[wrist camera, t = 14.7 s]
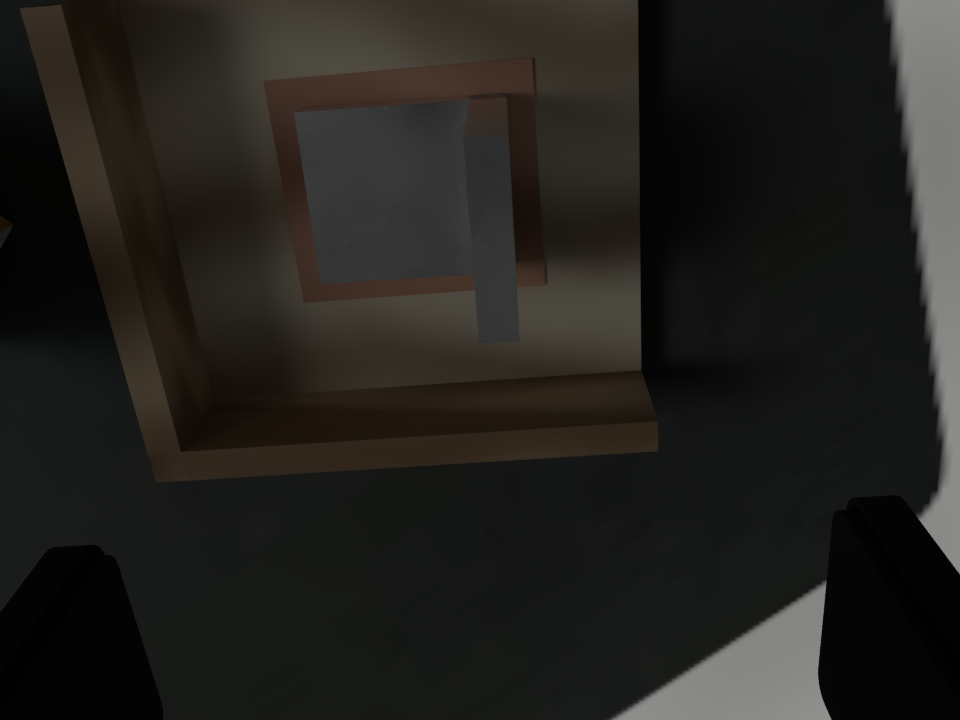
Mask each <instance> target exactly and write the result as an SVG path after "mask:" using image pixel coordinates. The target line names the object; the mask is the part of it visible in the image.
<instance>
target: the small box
mask: <svg viewBox="0 0 960 720" xmlns="http://www.w3.org/2000/svg"><path fill="white" fill-rule="evenodd" d="M12 226H13V225H12V223H11V222H10V221H9V220H7V219H5V218H4V217H2V216H0V249H1V247H2V245H3V243H4V241H5V240H6V238H7V236H8V234H9V232H10V231H11V229H12Z"/></svg>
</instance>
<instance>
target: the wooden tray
mask: <svg viewBox="0 0 960 720" xmlns="http://www.w3.org/2000/svg"><path fill="white" fill-rule="evenodd" d="M20 11H21V14H22V18H23V21H24V24H25V28H26V31H27V35H28V38H29V42H30V45H31V49H32V52H33V56H34V59H35V63H36V66H37V70H38V73H39V77H40V80H41V84H42V87H43V91H44V94H45V98H46V101H47V105H48V108H49V112H50V115H51V119H52V122H53V125H54V129H55V132H56V136H57V139H58V143H59V146H60V150H61V153H62V157H63V160H64V164H65V167H66V171H67V174H68V178H69V181H70V185H71V188H72V192H73V195H74V199H75V202H76V206H77V209H78V213H79V216H80V220H81V223H82V226H83V230H84V233H85V237H86V240H87V244H88V247H89V251H90V254H91V258H92V261H93V265H94V268H95V272H96V275H97V279H98V282H99V286H100V289H101V293H102V296H103V300H104V303H105V307H106V310H107V314H108V317H109V321H110V324H111V327H112V331H113V334H114V338H115V341H116V345H117V348H118V352H119V355H120V359H121V362H122V366H123V369H124V373H125V376H126V380H127V383H128V387H129V390H130V394H131V397H132V401H133V404H134V408H135V411H136V415H137V418H138V421H139V425H140V428H141V432H142V435H143V439H144V442H145V446H146V449H147V453H148V456H149V460H150V463H151V467H152V470H153V474H154V477H155V481H156V483H157V482H173V481H189V480H205V479H221V478H237V477H253V476H269V475H284V474H300V473H316V472H332V471H348V470H364V469H380V468H396V467H412V466H428V465H444V464H460V463H476V462H492V461H508V460H524V459H539V458H555V457H571V456H587V455H603V454H619V453H635V452H651V451H658V419H657V416H656V413H655V410H654V407H653V404H652V401H651V398H650V395H649V392H648V389H647V386H646V383H645V380H644V377H643V374H642V371H641V283H640V169H639V55H638V0H75V1H68V2H61V3H55V4H48V5H41V6H34V7H27V8H20ZM497 93H506V95H507V112H508V130H509V148H510V166H511V184H512V202H513V220H514V238H515V256H516V275H517V294H518V314H519V333H520V342H507V343H489V344H479V338H478V325H477V312H476V299H475V286H474V275H459V276H443V277H426V278H409V279H392V280H376V281H359V282H342V283H326V284H321V283H320V276H319V270H318V263H317V257H316V251H315V244H314V238H313V232H312V225H311V219H310V212H309V206H308V200H307V193H306V187H305V181H304V174H303V168H302V161H301V155H300V149H299V142H298V136H297V130H296V123H295V117H294V112H295V111H296V110H297V109H298V108H300V107H310V106H325V105H339V104H353V103H368V102H382V101H397V100H411V99H425V98H440V97H454V96H468V95H483V94H497Z"/></svg>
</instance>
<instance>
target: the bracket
mask: <svg viewBox="0 0 960 720" xmlns="http://www.w3.org/2000/svg"><path fill="white" fill-rule="evenodd" d="M294 117H295V123H296V130H297V136H298V142H299V149H300V155H301V161H302V168H303V174H304V181H305V187H306V193H307V200H308V206H309V212H310V219H311V225H312V232H313V238H314V244H315V251H316V257H317V263H318V270H319V276H320V283H321V284H326V283H342V282H359V281H376V280H392V279H409V278H426V277H443V276H459V275H474V286H475V299H476V312H477V325H478V338H479V344H489V343H507V342H520V333H519V314H518V294H517V275H516V256H515V238H514V220H513V202H512V184H511V166H510V148H509V130H508V112H507V95H506V93H497V94H483V95H468V96H454V97H440V98H425V99H411V100H397V101H382V102H368V103H353V104H339V105H325V106H310V107H300V108H298V109H297V110H296V111H295V112H294Z"/></svg>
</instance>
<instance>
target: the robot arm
mask: <svg viewBox="0 0 960 720" xmlns="http://www.w3.org/2000/svg"><path fill="white" fill-rule="evenodd" d="M818 678H819V686H820V691H821V695H822V698H823V701H824V703H825V706H826V708H827V710H828V713H829V715H830V717H831V719H832V720H960V574H959V573H958V571H957V570H956V569H955V567H954V566H953V565H952V563H951V562H950V561H949V559H947V557H946V555H945V554H944V553H943V551H942V550H941V549H940V547H939V546H938V545H937V543H936V542H935V541H934V539H933V538H932V537H931V535H930V534H929V533H928V531H927V530H926V529H925V527H924V526H923V525H922V523H921V522H920V521H919V519H918V518H917V517H916V515H915V514H914V513H913V511H912V510H911V509H910V507H909V506H908V505H907V503H906V502H905V501H904V500H903V499H902V498H901V497H900V496H897V495H891V496H875V497H858V498H852V499H850V500H849V502H848V504H847V508H846V510H837V511H836V512H835V513H834V516H833V521H832V531H831V542H830V552H829V562H828V573H827V583H826V594H825V604H824V614H823V626H822V636H821V646H820V656H819V667H818ZM0 720H163V708H162V703H161V700H160V697H159V693H158V690H157V687H156V684H155V681H154V677H153V674H152V671H151V668H150V665H149V662H148V658H147V655H146V652H145V649H144V646H143V643H142V639H141V636H140V633H139V630H138V627H137V623H136V620H135V617H134V614H133V611H132V608H131V604H130V601H129V598H128V595H127V592H126V588H125V585H124V582H123V579H122V576H121V573H120V569H119V566H118V563H117V561H116V559H115V558H114V557H113V556H111V555H105V554H104V552H103V550H102V549H101V548H100V547H99V546H96V545H84V546H68V547H54V548H51V549H49V550H48V551H47V552H46V553H45V554H44V555H43V556H42V558H41V559H40V560H39V562H38V563H37V564H36V566H35V567H34V568H33V570H32V571H31V572H30V574H29V575H28V576H27V578H26V579H25V580H24V582H23V583H22V584H21V586H20V587H19V588H18V590H17V591H16V592H15V594H14V595H13V596H12V598H11V599H10V600H9V602H8V603H7V604H6V606H5V607H4V608H3V610H2V611H1V612H0Z"/></svg>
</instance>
